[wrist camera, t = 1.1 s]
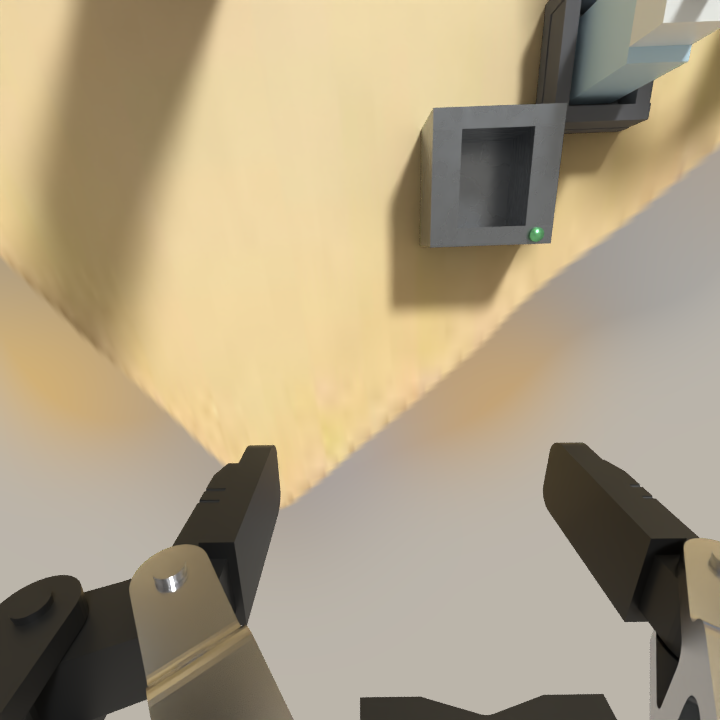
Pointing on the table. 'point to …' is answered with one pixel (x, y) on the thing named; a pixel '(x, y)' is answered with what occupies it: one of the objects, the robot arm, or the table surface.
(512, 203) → the port
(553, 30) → the box
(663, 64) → the plug
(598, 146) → the table surface
